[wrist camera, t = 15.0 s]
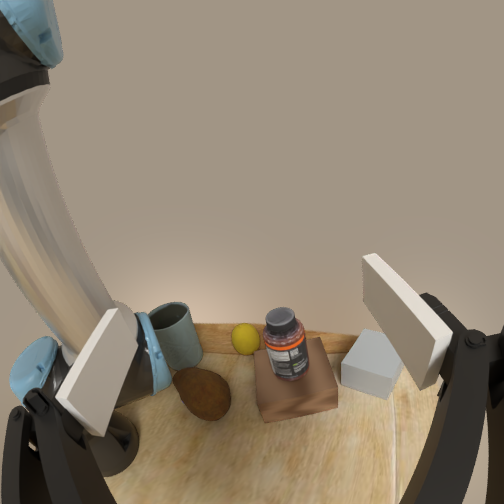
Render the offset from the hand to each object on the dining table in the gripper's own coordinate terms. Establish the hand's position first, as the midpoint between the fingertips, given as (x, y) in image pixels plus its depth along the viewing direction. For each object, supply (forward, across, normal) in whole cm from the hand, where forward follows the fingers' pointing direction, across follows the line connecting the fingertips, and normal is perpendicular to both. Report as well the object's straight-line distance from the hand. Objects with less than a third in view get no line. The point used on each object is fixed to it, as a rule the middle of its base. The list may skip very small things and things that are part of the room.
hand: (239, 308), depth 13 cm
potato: (+19, -13, -32) cm, 40 cm away
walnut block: (+19, +2, -32) cm, 37 cm away
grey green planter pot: (+33, -20, -32) cm, 50 cm away
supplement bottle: (+19, +2, -26) cm, 32 cm away
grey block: (+17, +16, -32) cm, 40 cm away
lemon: (+31, -6, -32) cm, 45 cm away
